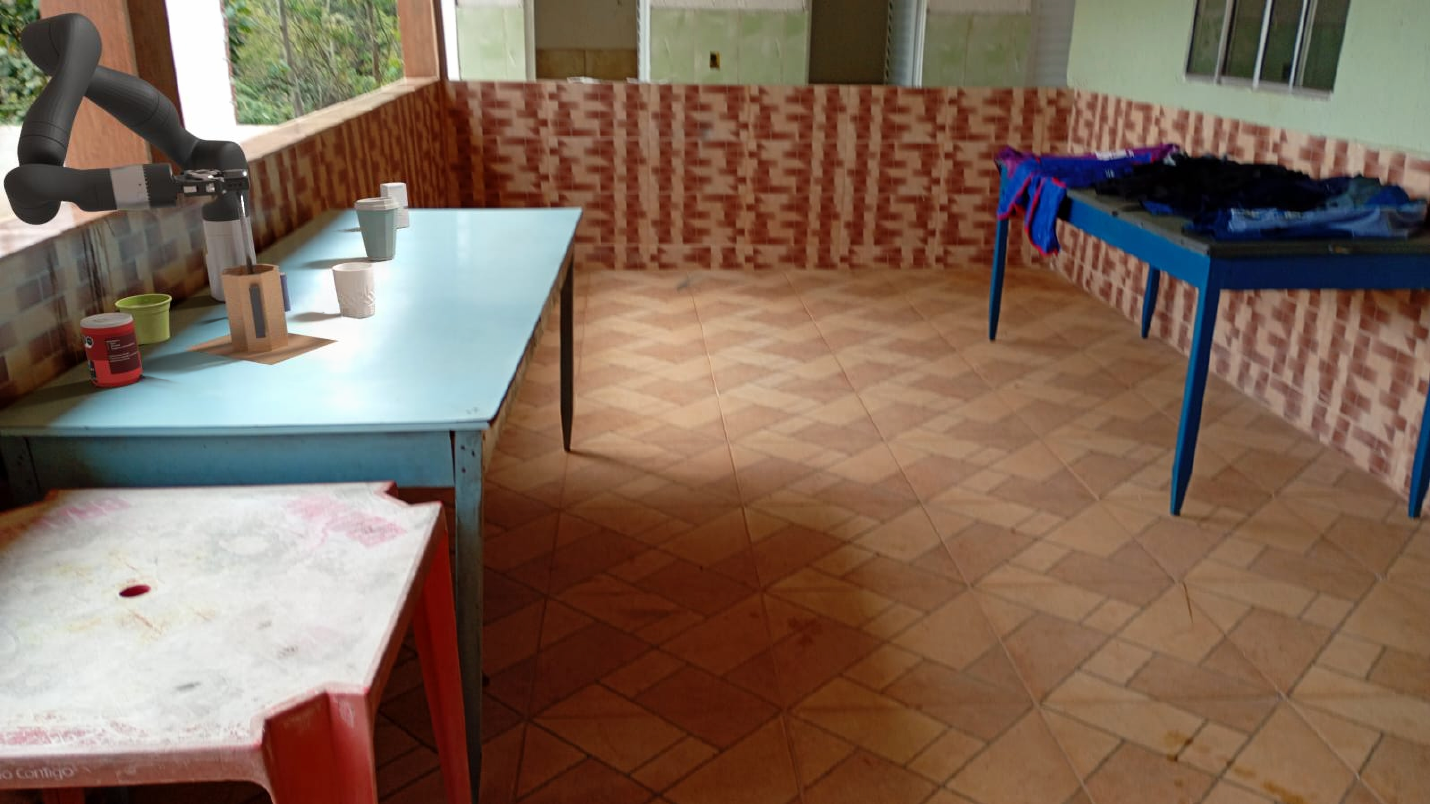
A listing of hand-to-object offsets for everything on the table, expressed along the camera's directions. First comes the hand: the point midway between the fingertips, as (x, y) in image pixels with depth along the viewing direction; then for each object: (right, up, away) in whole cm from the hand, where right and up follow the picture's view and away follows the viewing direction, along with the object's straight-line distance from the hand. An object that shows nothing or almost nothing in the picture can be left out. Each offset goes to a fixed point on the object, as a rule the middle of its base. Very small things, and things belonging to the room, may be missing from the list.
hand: (246, 179), depth 199 cm
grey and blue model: (-9, -21, +34) cm, 41 cm away
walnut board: (-1, -30, +10) cm, 31 cm away
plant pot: (-23, -28, +14) cm, 40 cm away
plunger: (-1, -20, +7) cm, 21 cm away
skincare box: (-7, +10, +121) cm, 122 cm away
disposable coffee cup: (-1, -3, +83) cm, 83 cm away
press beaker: (-1, -28, +10) cm, 30 cm away
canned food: (-19, -36, -6) cm, 41 cm away
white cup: (+9, -21, +34) cm, 41 cm away
